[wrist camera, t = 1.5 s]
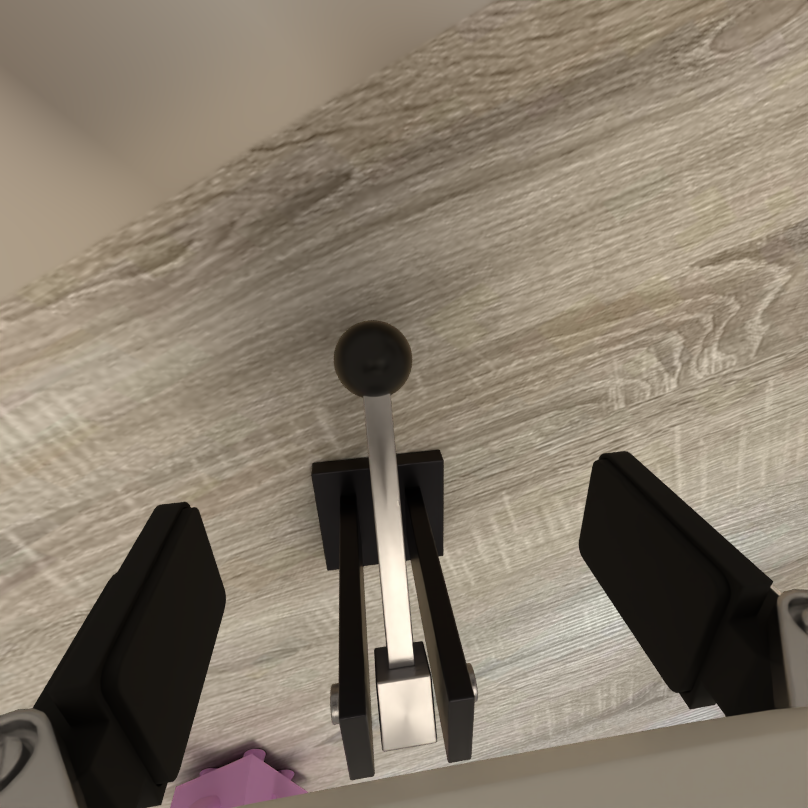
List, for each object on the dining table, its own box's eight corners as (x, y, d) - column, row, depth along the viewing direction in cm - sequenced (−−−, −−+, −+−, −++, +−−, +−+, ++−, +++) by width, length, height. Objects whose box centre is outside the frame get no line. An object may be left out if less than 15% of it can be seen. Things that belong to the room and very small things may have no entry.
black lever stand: (312, 462, 27) (287, 696, 14) (439, 449, 27) (518, 660, 15) (327, 557, 30) (318, 809, 18) (440, 543, 31) (504, 775, 19)
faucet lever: (332, 329, 19) (327, 316, 16) (404, 324, 19) (413, 310, 16) (368, 704, 20) (369, 763, 16) (437, 692, 20) (452, 750, 17)
